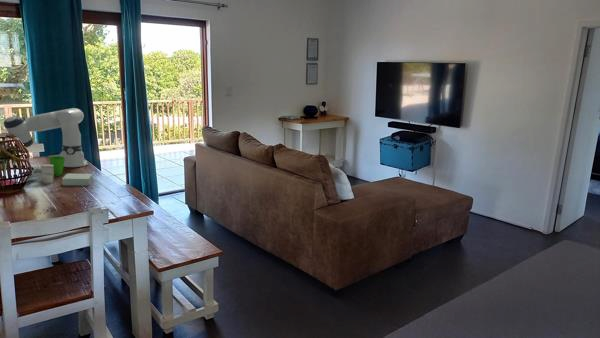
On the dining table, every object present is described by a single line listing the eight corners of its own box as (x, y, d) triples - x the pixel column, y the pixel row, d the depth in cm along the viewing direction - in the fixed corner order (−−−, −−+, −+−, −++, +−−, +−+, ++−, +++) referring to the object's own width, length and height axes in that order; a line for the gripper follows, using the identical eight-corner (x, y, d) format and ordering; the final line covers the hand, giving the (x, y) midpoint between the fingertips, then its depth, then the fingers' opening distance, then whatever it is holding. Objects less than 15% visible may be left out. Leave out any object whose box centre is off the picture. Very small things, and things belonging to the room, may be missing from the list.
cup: (68, 174, 276) (68, 157, 274) (59, 177, 267) (59, 159, 265) (55, 172, 277) (54, 155, 275) (45, 175, 268) (45, 158, 266)
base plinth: (67, 179, 262) (67, 173, 262) (92, 180, 266) (92, 173, 266) (62, 185, 250) (62, 178, 249) (89, 185, 254) (88, 178, 254)
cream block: (44, 181, 256) (43, 164, 254) (53, 181, 257) (53, 164, 255) (41, 183, 251) (41, 166, 249) (51, 183, 253) (51, 166, 251)
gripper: (21, 174, 258) (48, 174, 262) (10, 182, 239) (38, 182, 243) (21, 163, 257) (47, 164, 261) (9, 171, 238) (38, 171, 242)
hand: (43, 173), depth 252 cm, fingers open, 8 cm apart
